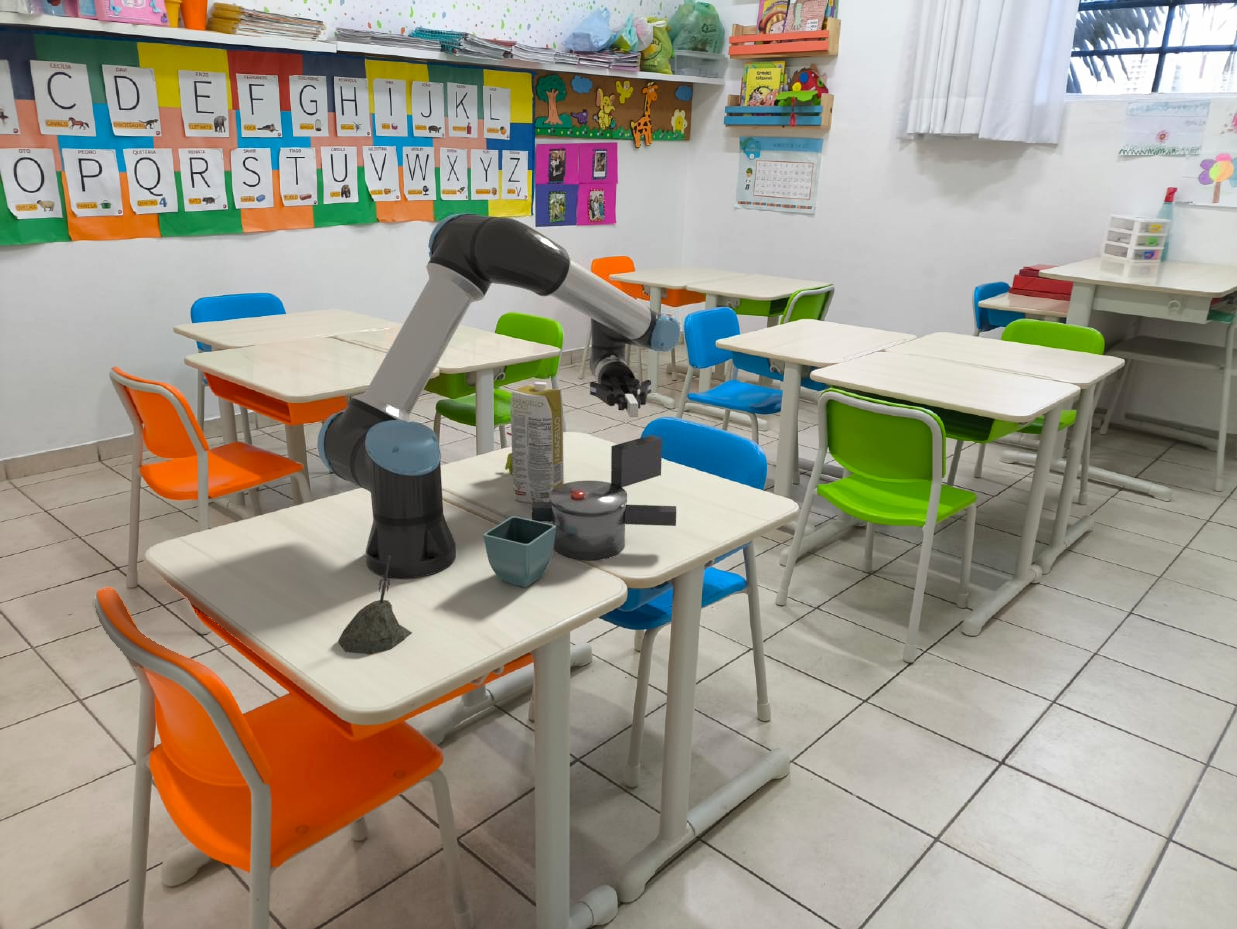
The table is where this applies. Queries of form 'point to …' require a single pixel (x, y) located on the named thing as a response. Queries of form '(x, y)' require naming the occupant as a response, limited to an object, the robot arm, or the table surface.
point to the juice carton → (536, 442)
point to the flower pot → (520, 549)
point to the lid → (612, 479)
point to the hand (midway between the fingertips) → (634, 410)
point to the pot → (598, 528)
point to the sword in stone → (374, 627)
